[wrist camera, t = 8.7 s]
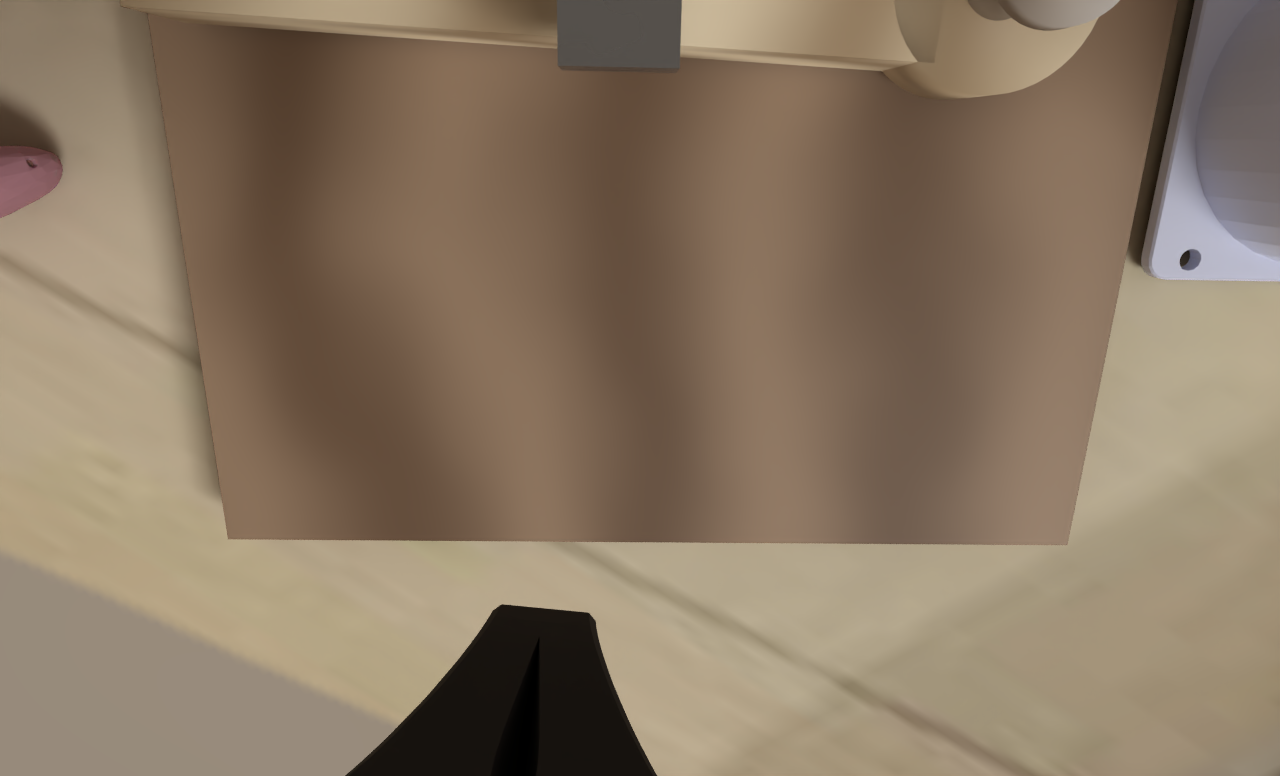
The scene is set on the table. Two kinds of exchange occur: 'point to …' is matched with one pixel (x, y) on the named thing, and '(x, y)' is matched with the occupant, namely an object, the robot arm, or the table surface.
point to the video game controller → (26, 176)
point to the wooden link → (736, 32)
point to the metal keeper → (619, 35)
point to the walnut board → (648, 288)
